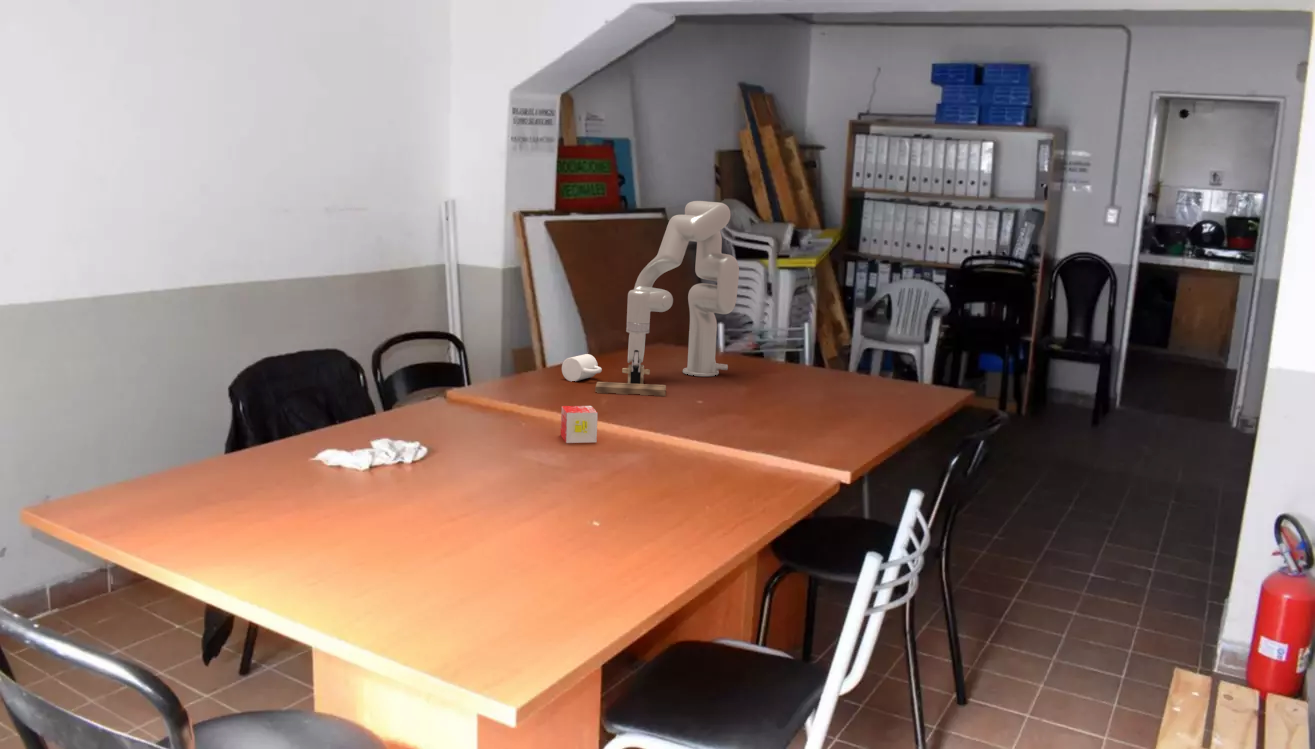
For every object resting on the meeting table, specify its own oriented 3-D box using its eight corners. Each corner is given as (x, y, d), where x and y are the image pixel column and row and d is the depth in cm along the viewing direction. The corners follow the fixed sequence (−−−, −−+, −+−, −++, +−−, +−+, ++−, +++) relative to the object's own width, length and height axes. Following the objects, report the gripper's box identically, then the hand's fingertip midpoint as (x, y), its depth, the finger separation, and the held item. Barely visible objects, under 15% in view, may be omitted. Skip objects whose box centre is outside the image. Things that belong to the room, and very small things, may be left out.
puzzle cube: (566, 443, 276) (567, 413, 275) (560, 435, 284) (561, 406, 282) (596, 442, 278) (597, 412, 277) (590, 435, 286) (591, 405, 284)
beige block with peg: (649, 383, 359) (650, 363, 357) (648, 385, 354) (649, 365, 353) (622, 381, 359) (623, 361, 357) (621, 384, 354) (622, 363, 353)
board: (665, 391, 347) (665, 384, 346) (665, 396, 339) (665, 389, 338) (597, 387, 347) (597, 381, 346) (595, 392, 339) (595, 386, 338)
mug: (561, 380, 357) (561, 356, 356) (577, 375, 366) (578, 352, 364) (591, 385, 351) (592, 360, 350) (607, 380, 360) (608, 357, 359)
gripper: (627, 323, 361) (625, 377, 365) (625, 330, 345) (622, 387, 348) (650, 324, 361) (647, 378, 365) (648, 332, 345) (646, 388, 348)
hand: (635, 381), depth 356 cm, fingers closed on beige block with peg, 4 cm apart
